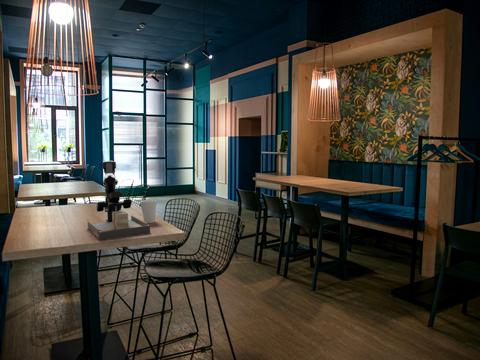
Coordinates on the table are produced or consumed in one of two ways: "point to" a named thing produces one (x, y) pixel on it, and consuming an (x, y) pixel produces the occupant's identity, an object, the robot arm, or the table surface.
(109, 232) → the grey flat rectangular tray
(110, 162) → the robot arm
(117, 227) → the birch brick
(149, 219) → the foam cup
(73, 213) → the table surface
